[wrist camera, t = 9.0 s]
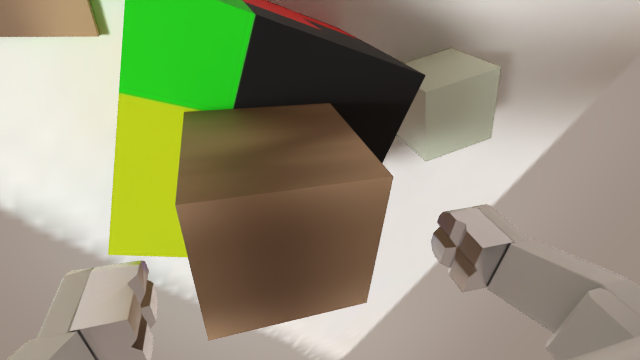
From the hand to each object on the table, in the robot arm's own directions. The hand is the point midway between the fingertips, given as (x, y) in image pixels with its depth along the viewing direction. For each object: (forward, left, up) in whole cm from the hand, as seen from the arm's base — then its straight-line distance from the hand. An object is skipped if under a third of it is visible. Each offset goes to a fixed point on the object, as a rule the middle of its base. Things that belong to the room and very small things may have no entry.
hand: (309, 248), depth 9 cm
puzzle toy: (0, 0, -15) cm, 15 cm away
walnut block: (+1, 0, -5) cm, 5 cm away
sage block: (-13, +1, -15) cm, 19 cm away
